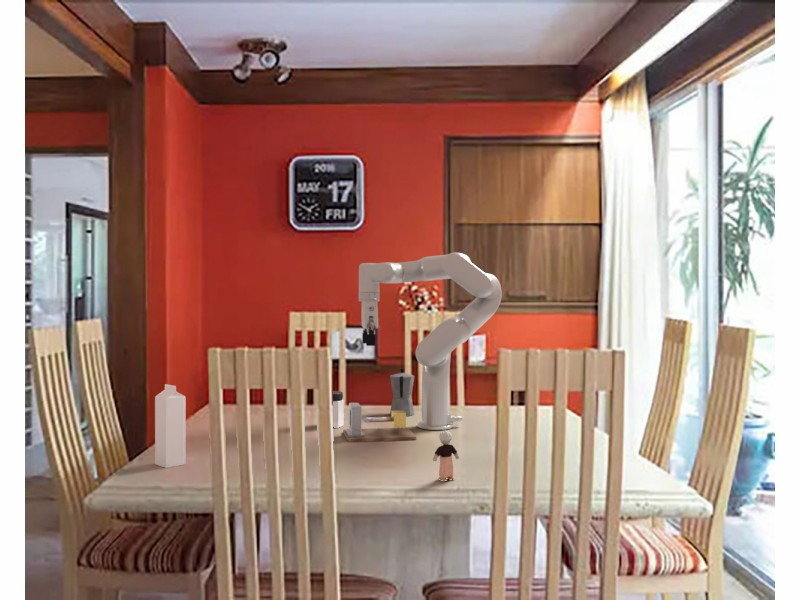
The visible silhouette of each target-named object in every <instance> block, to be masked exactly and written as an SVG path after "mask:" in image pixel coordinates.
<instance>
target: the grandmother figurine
mask: <svg viewBox="0 0 800 600" xmlns="http://www.w3.org/2000/svg"><path fill="white" fill-rule="evenodd" d="M438 436H439V441H440V443H441V445H440V446H438V447H437V448H436V450H435V452H434V455H433V457H432V461H433V462H436V461H438V458H439V469H438V476H439V477H438V479H440V480H443V481H445V480H448V479H454V480H455V477H454V462H453V456H454V458H455V459H456V460H459V459H460V456H459V454H458V451H457V449H456V448H455V446H454V445H453V444H450V443H451V441H452V440H453V436H452V433H451V432H450V431H449V430H443V431H441V432H440V433H439V435H438ZM452 455H453V456H452ZM446 478H448V479H446Z"/></svg>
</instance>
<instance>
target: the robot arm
mask: <svg viewBox="0 0 800 600" xmlns="http://www.w3.org/2000/svg"><path fill="white" fill-rule="evenodd" d="M449 279H451V280H452V281H454V282H455V283H456V284H458V286H459V287H462V289H464V290H465V291H467V293H469V294H470V295H471V296H473V297H475V298H474V299H473V300H472V301H471V302H470V303H468V304H467V306H465V308H463V309H462V310H461V311H460V312H459V313H457V314H456V315H455V316H453V317H450V318H447V319H445V320H444V321H442V322H441V323H440V324H438V326H437V325H436V327H435V328H434V329H433V330H432V331H430V333H428V335H426V336H425V337H424V338H423V339H422V340H421V341H420V342H418V344H417V346H416V349H415V358H416V360H417V362H418V363H419V364H420V365H422V375H421V421H418V422H417V424H416V427H417V428H419V429H422V430H427V431H428V430H429V431H442V430H443V431H447V430H450V429H453V427H454V424H453V423H454V422H456V423H457V422H459V423H461V422H462V421H463V416H462V415H452V414H451V413H450V367H451V358H452V356H451V355H452V352H453V351H455V349H456V348H457V347H459V346H460V345H463V344H464V343H466V342H467V341H468V340H469V339H470V337H472V336H473V335H474V334H475V333H476V332H477V331H479V329H481V328H482V326H483V325H484V324H485V323H487V321H489V320H490V319H491V318H492V317H493V315H495V313H496V312H497V310H498V308H499V307H500V304H501V302H502V297H503V292H502V286H501V282H500V281H499V279H498V278H497V277H496V276H495V275H494V274H492V273H487V272H484V271H483V270H482V269H480V268H479V267H478V266H476V265H475V264H474V263H472V260H471V258H470V257H469V256H468V255H467V254H465V253H462V252H457V251H455V252H451V253H448V254H440V255H431V256H429V255H428V256H425V257H422V258H420V259H417V260H414V261H413V260H411V261H404V262H403V261H402V262H390V261H389V262H388V261H386V262H378V263H375V262H363V263H360V264H359V266H358V302H361V327H362V333H361V334H362V342H361V343H362V344H365V345H366V346H367V347H373V346H376V330H377V329H379V308H378V302H380V292H381V291H380V290H381V289H380V283H382V284H403V283H411V282H412V283H413V282H429V281H440V280H449Z"/></svg>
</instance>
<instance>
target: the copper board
mask: <svg viewBox="0 0 800 600" xmlns="http://www.w3.org/2000/svg"><path fill="white" fill-rule="evenodd" d="M342 430H343V431H342V432H343V434H344V437H345V438H346V440H347V441H348V443H360V442H364V441H366V442H389V441H390V442H391V441H393V440H395V441H413V440H412V439H416V440H417V436H416V435H415V434H414V433H413V432H412V431H411V430H410V428H408V427H402V428H394V427H386V428H385V427H384V428H383V427H382V428H361V430H362V432H363V433H364V435H365V437H349V436H348V434H347V433H346V429H342ZM393 442H394V441H393Z"/></svg>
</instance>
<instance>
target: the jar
mask: <svg viewBox="0 0 800 600" xmlns="http://www.w3.org/2000/svg"><path fill="white" fill-rule="evenodd" d="M332 391H333V423H334V428H333V429H339V427H340V428H342V427H343V426H344V425H345V420H344V419H345V415H344V414H345V411H344V410H345V405H344V404H345V400H344V395H343V394H344V392H343V391H339V390H332Z"/></svg>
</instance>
